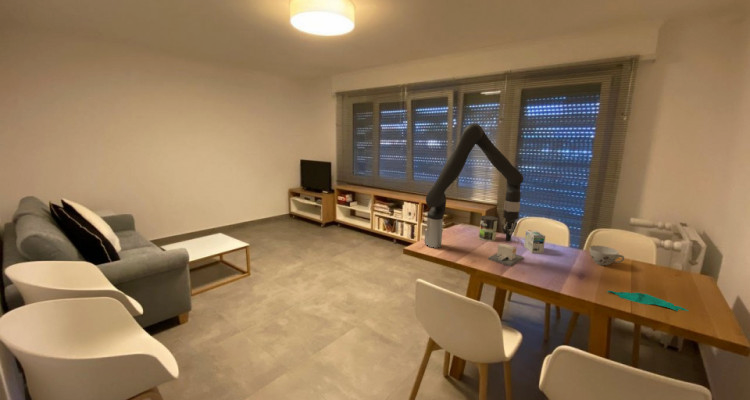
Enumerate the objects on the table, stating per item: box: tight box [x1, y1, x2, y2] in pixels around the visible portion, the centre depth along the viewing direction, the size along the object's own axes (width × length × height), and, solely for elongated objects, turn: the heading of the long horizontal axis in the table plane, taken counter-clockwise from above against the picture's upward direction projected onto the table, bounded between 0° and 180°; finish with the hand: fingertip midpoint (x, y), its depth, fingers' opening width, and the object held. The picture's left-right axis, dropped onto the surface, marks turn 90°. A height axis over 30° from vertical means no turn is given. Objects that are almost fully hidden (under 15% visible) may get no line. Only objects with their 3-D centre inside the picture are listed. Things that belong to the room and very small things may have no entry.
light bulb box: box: [523, 229, 546, 254], centre depth 182 cm, size 11×7×11 cm, turn 179°
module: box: [496, 243, 517, 260], centre depth 168 cm, size 8×4×6 cm, turn 43°
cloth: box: [606, 290, 689, 312], centre depth 129 cm, size 26×14×2 cm, turn 45°
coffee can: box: [478, 215, 499, 242], centre depth 201 cm, size 10×10×14 cm
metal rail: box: [497, 255, 508, 261], centre depth 169 cm, size 3×14×1 cm, turn 132°
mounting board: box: [487, 253, 525, 267], centre depth 169 cm, size 12×16×1 cm
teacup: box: [589, 245, 625, 267], centre depth 164 cm, size 15×12×8 cm
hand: (508, 240), depth 167 cm, fingers closed
